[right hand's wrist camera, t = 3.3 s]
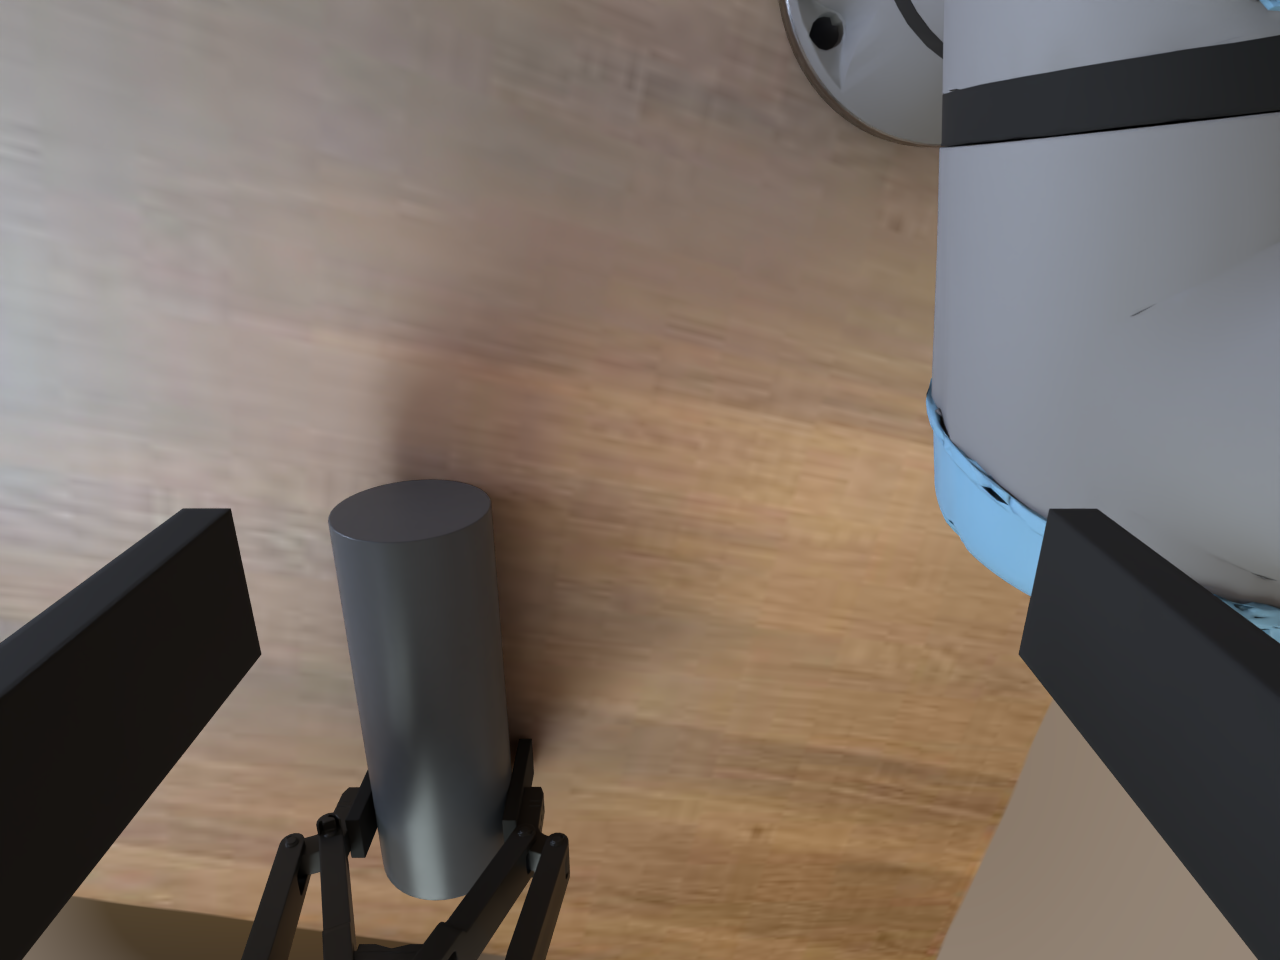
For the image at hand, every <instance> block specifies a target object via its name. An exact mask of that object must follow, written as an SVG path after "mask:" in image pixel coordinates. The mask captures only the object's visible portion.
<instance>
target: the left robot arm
mask: <svg viewBox="0 0 1280 960" xmlns="http://www.w3.org/2000/svg"><path fill="white" fill-rule="evenodd" d="M533 775H534V769H533V753H532V739H519V744H518V748H517V753H516V758H515V762H514V767H513V772H512V776H511V781H510V786H509V790H508V795H507V800H506V804H505V809H504V814H503V818H502V825H503V837H504V844H503V845H502V847H501V848H500V850H499V851H498V852H497V854H496V855H495V856H494V858H493V859H492V861H491V862H490V863H489V865H488V866H487V867H486V869H485V870H484V871H483V873H482V874H481V876H480V877H479V878H478V880H477V881H476V882H475V884H474V885H473V886H472V888H471V889H470V891H469V892H468V893H467V895H466V896H465V897H464V899H463V900H462V901H461V903H460V904H459V906H458V907H457V908H456V910H455V911H454V912H453V914H452V915H451V916H450V918H449V919H448V920H447V922H445V923H444V922H440V923H439V924H438V925H437V926H436V928H435V929H434V930H433V932H432V933H431V934H430V936H429V937H428V938H427V940H426V941H425V942H424V944H409V945H405V946H401V947H396V948H387V947H384V946H380V945H377V944H359V946H358V949H357V947H356V937H355V926H354V915H353V905H352V894H351V883H350V873H349V862H348V855H349V852H350V851H351V856H352V858H365V857H366V855H367V852H368V850H369V847H370V845H371V842H372V840H373V837H374V835H375V832H376V830H377V821H376V815H375V808H374V802H373V796H372V790H371V784H370V777H369V771H367V773H366V775H365V777H364V779H363V782H362V784H361V786H360V787H349V788H348V789H347V790H346V791H345V792H344V793H343V794H342V796H341V798H340V800H339V802H338V804H337V807H336V808H335V811H334V813H328V814H325V815H323V816H322V817H320V818H319V819H318V821H317V824H316V826H317V831H318V834H317V835H314V836H311V837H307V838H304V837H303V835H302V834H299V833H294V834H290V835H288V836H286V837H285V838H284V839H283V840H282V841H281V843H280V845H279V848H278V851H277V854H276V857H275V860H274V863H273V866H272V869H271V872H270V875H269V878H268V881H267V884H266V887H265V890H264V893H263V896H262V899H261V902H260V905H259V908H258V911H257V914H256V917H255V920H254V923H253V926H252V929H251V932H250V935H249V938H248V941H247V944H246V947H245V950H244V953H243V956H242V959H241V960H288V957H289V953H290V949H291V946H292V942H293V938H294V935H295V931H296V927H297V924H298V920H299V916H300V913H301V909H302V905H303V902H304V898H305V895H306V891H307V887H308V884H309V880H310V876H311V874H314V873H318V872H320V875H321V894H322V913H323V931H322V937H323V956H324V960H477V959H478V957H479V956H480V954H481V953H482V951H483V950H484V948H485V947H486V945H487V944H488V942H489V941H490V939H491V938H492V936H493V935H494V933H495V932H496V930H497V929H498V927H499V925H500V924H501V922H502V921H503V919H504V918H505V916H506V915H507V913H508V912H509V910H510V909H511V907H512V906H513V904H514V903H515V901H516V900H517V898H518V897H519V895H520V894H521V892H522V891H523V889H524V888H525V886H526V885H527V883H528V882H529V880H530V878H531V877H532V878H533V879H532V882H531V885H530V888H529V890H528V893H527V896H526V899H525V902H524V905H523V908H522V911H521V914H520V916H519V919H518V922H517V925H516V928H515V931H514V934H513V937H512V940H511V942H510V945H509V948H508V951H507V955H506V958H505V960H545V959H546V955H547V952H548V949H549V945H550V942H551V939H552V935H553V932H554V928H555V925H556V922H557V918H558V915H559V911H560V908H561V905H562V901H563V898H564V894H565V891H566V888H567V884H568V881H569V877H570V865H569V844H568V838H567V836H566V835H565V834H562V833H554V834H551V835H550V836H546V835H544V834H543V833H542V826H543V819H544V813H545V810H544V793H543V791H542V788H541V787H531V786H532V781H533Z"/></svg>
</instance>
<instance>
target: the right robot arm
mask: <svg viewBox="0 0 1280 960" xmlns="http://www.w3.org/2000/svg"><path fill="white" fill-rule="evenodd" d="M779 5H780V11H781V16H782V20H783V24H784V27H785V31H786V34H787V38H788V40H789V43H790V45H791V48H792V50H793V53H794V55H795V57H796V59H797V61H798V63H799V65H800V67H801V69H802V71H803V72H804V74H805V75H806V77H807V79H808V80H809V82H810V83H811V85H812V86H813V87H814V89H815V90H816V91H817V92H818V94H819V95H820V96H821V97H822V98H823V99H824V100H825V101H826V103H827V104H828V105H829V106H830V107H831V108H832V109H833V110H835V111H836V112H837V113H838V114H839V115H841V116H842V117H843V118H844V119H846V120H847V121H849V122H850V123H852V124H853V125H855V126H856V127H858V128H859V129H861V130H863V131H865V132H867V133H869V134H871V135H873V136H876V137H879V138H881V139H884V140H887V141H890V142H894V143H898V144H903V145H909V146H917V147H940V151H939V193H938V235H937V265H936V291H935V316H934V341H933V366H932V378H931V382H930V386H929V389H928V392H927V398H926V407H927V414H928V417H929V421H930V425H931V427H932V429H933V434H934V473H935V490H936V496H937V500H938V503H939V507H940V509H941V512H942V514H943V516H944V518H945V520H946V522H947V523H948V525H949V526H950V527H951V528H952V529H953V530H954V531H955V532H956V533H957V534H958V535H959V536H960V538H961V541H962V542H963V543H964V544H965V546H966V548H967V550H968V551H969V552H970V553H971V554H972V555H973V556H974V557H975V558H976V559H977V560H978V561H980V562H981V563H982V564H983V565H984V566H986V567H987V568H988V569H989V570H991V571H992V572H993V573H995V574H996V575H997V576H999V577H1000V578H1002V579H1003V580H1005V581H1006V582H1008V583H1009V584H1011V585H1012V586H1014V587H1015V588H1017V589H1019V590H1020V591H1022V592H1024V593H1026V594H1028V595H1029V596H1031V598H1030V603H1029V607H1028V612H1027V617H1026V622H1025V626H1024V631H1023V636H1022V641H1021V645H1020V650H1019V655H1020V657H1021V658H1022V659H1023V661H1024V662H1025V663H1026V664H1027V666H1028V667H1029V668H1030V669H1031V671H1032V672H1033V673H1034V675H1035V676H1036V677H1037V678H1038V680H1039V681H1040V682H1041V683H1042V685H1043V686H1044V687H1045V689H1046V690H1047V691H1048V692H1049V694H1050V695H1051V696H1052V698H1053V699H1054V700H1055V701H1056V703H1057V704H1058V705H1059V706H1060V708H1061V709H1062V710H1063V712H1064V713H1065V714H1066V715H1067V717H1068V718H1069V719H1070V720H1071V722H1072V723H1073V724H1074V726H1075V727H1076V728H1077V729H1078V731H1079V732H1080V733H1081V734H1082V736H1083V737H1084V738H1085V740H1086V741H1087V742H1088V743H1089V745H1090V746H1091V747H1092V749H1093V750H1094V751H1095V752H1096V754H1097V755H1098V756H1099V757H1100V759H1101V760H1102V761H1103V763H1104V764H1105V765H1106V766H1107V768H1108V769H1109V770H1110V771H1111V773H1112V774H1113V775H1114V777H1115V778H1116V779H1117V780H1118V782H1119V783H1120V784H1121V785H1122V787H1123V788H1124V789H1125V791H1126V792H1127V793H1128V794H1129V796H1130V797H1131V798H1132V799H1133V801H1134V802H1135V803H1136V805H1137V806H1138V807H1139V808H1140V810H1141V811H1142V812H1143V813H1144V815H1145V816H1146V817H1147V819H1148V820H1149V821H1150V822H1151V824H1152V825H1153V826H1154V828H1155V829H1156V830H1157V831H1158V833H1159V834H1160V835H1161V836H1162V838H1163V839H1164V840H1165V841H1166V843H1167V844H1168V845H1169V847H1170V848H1171V849H1172V850H1173V852H1174V853H1175V854H1176V856H1177V857H1178V858H1179V859H1180V861H1181V862H1182V863H1183V865H1184V866H1185V867H1186V868H1187V870H1188V871H1189V872H1190V873H1191V875H1192V876H1193V877H1194V879H1195V880H1196V881H1197V882H1198V884H1199V885H1200V886H1201V887H1202V889H1203V890H1204V891H1205V893H1206V894H1207V895H1208V896H1209V898H1210V899H1211V900H1212V901H1213V903H1214V904H1215V905H1216V907H1217V908H1218V909H1219V910H1220V912H1221V913H1222V914H1223V916H1224V917H1225V918H1226V919H1227V920H1228V922H1229V923H1230V924H1231V926H1232V927H1233V928H1234V929H1235V931H1236V932H1237V933H1238V935H1239V936H1240V937H1241V938H1242V940H1243V941H1244V942H1245V944H1246V945H1247V946H1248V947H1249V949H1250V950H1251V951H1252V953H1253V954H1254V955H1255V956H1256V958H1257V959H1258V960H1280V0H779ZM260 655H261V650H260V645H259V641H258V636H257V631H256V626H255V622H254V617H253V612H252V607H251V603H250V598H249V593H248V588H247V584H246V579H245V574H244V569H243V565H242V560H241V555H240V550H239V546H238V541H237V536H236V531H235V527H234V522H233V517H232V512H231V509H182V510H180V511H179V512H178V513H176V514H175V515H173V516H172V517H171V518H169V519H168V520H167V521H165V522H164V523H163V524H161V525H160V526H159V527H157V528H156V529H154V530H153V531H152V532H150V533H149V534H148V535H146V536H145V537H144V538H142V539H141V540H140V541H138V542H137V543H135V544H134V545H133V546H131V547H130V548H129V549H127V550H126V551H125V552H123V553H122V554H121V555H119V556H118V557H117V558H115V559H114V560H112V561H111V562H110V563H108V564H107V565H106V566H104V567H103V568H102V569H100V570H99V571H98V572H96V573H95V574H93V575H92V576H91V577H89V578H88V579H87V580H85V581H84V582H83V583H81V584H80V585H79V586H77V587H76V588H74V589H73V590H72V591H70V592H69V593H68V594H66V595H65V596H64V597H62V598H61V599H60V600H58V601H57V602H55V603H54V604H53V605H51V606H50V607H49V608H47V609H46V610H45V611H43V612H42V613H41V614H39V615H38V616H36V617H35V618H34V619H32V620H31V621H30V622H28V623H27V624H26V625H24V626H23V627H22V628H20V629H19V630H17V631H16V632H15V633H13V634H12V635H11V636H9V637H8V638H7V639H5V640H4V641H3V642H1V643H0V960H22V959H23V958H24V956H25V955H26V954H27V952H28V951H29V950H30V949H31V947H32V946H33V945H34V943H35V942H36V941H37V940H38V938H39V937H40V936H41V935H42V933H43V932H44V931H45V930H46V928H47V927H48V926H49V924H50V923H51V922H52V921H53V919H54V918H55V917H56V916H57V914H58V913H59V912H60V910H61V909H62V908H63V907H64V905H65V904H66V903H67V902H68V900H69V899H70V898H71V896H72V895H73V894H74V893H75V891H76V890H77V889H78V887H79V886H80V885H81V884H82V882H83V881H84V880H85V879H86V877H87V876H88V875H89V873H90V872H91V871H92V870H93V868H94V867H95V866H96V865H97V863H98V862H99V861H100V859H101V858H102V857H103V856H104V854H105V853H106V852H107V851H108V849H109V848H110V847H111V845H112V844H113V843H114V842H115V840H116V839H117V838H118V836H119V835H120V834H121V833H122V831H123V830H124V829H125V828H126V826H127V825H128V824H129V822H130V821H131V820H132V819H133V817H134V816H135V815H136V814H137V812H138V811H139V810H140V808H141V807H142V806H143V805H144V803H145V802H146V801H147V800H148V798H149V797H150V796H151V794H152V793H153V792H154V791H155V789H156V788H157V787H158V785H159V784H160V783H161V782H162V780H163V779H164V778H165V777H166V775H167V774H168V773H169V771H170V770H171V769H172V768H173V766H174V765H175V764H176V763H177V761H178V760H179V759H180V757H181V756H182V755H183V754H184V752H185V751H186V750H187V749H188V747H189V746H190V745H191V743H192V742H193V741H194V740H195V738H196V737H197V736H198V734H199V733H200V732H201V731H202V729H203V728H204V727H205V726H206V724H207V723H208V722H209V720H210V719H211V718H212V717H213V715H214V714H215V713H216V712H217V710H218V709H219V708H220V706H221V705H222V704H223V703H224V701H225V700H226V699H227V698H228V696H229V695H230V694H231V692H232V691H233V690H234V689H235V687H236V686H237V685H238V683H239V682H240V681H241V680H242V678H243V677H244V676H245V675H246V673H247V672H248V671H249V669H250V668H251V667H252V666H253V664H254V663H255V662H256V661H257V659H258V658H259V657H260Z"/></svg>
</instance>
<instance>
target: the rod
mask: <svg viewBox="0 0 1280 960" xmlns="http://www.w3.org/2000/svg"><path fill="white" fill-rule="evenodd" d="M328 523H329V529H330V536H331V542H332V548H333V554H334V560H335V567H336V573H337V579H338V585H339V591H340V598H341V604H342V610H343V616H344V622H345V629H346V635H347V641H348V647H349V653H350V660H351V666H352V672H353V678H354V684H355V691H356V697H357V703H358V709H359V715H360V722H361V728H362V734H363V740H364V746H365V753H366V759H367V765H368V771H369V777H370V784H371V790H372V796H373V802H374V808H375V815H376V821H377V827H378V833H379V839H380V846H381V852H382V858H383V864H384V869H385V872H386V874H387V876H388V878H389V879H390V881H391V882H392V883H393V884H394V885H395V886H396V887H397V888H398V889H399V890H401V891H402V892H404V893H406V894H408V895H410V896H413V897H416V898H419V899H425V900H446V899H452V898H457V897H460V896H464V895H466V894H467V893H468V892H469V891H470V889H471V888H472V886H473V885H474V884H475V882H476V881H477V880H478V878H479V877H480V876H481V874H482V873H483V871H484V870H485V869H486V867H487V866H488V865H489V863H490V862H491V861H492V859H493V858H494V856H495V855H496V854H497V852H498V851H499V850H500V848H501V847H502V845H503V844H504V837H503V825H502V818H503V814H504V809H505V804H506V800H507V795H508V790H509V786H510V781H511V776H512V770H511V757H510V744H509V730H508V717H507V704H506V691H505V678H504V665H503V652H502V638H501V625H500V612H499V599H498V586H497V573H496V560H495V546H494V533H493V520H492V507H491V500H490V498H489V496H488V495H487V494H486V493H485V492H484V491H483V490H481V489H479V488H477V487H475V486H472V485H469V484H466V483H461V482H456V481H449V480H412V481H403V482H397V483H391V484H386V485H382V486H378V487H374V488H371V489H368V490H365V491H362V492H359V493H357V494H355V495H353V496H350V497H349V498H347V499H345V500H343V501H342V502H340V503H339V504H338V505H337V506H336V507H335V508H334V509H333V510H332V511H331V513H330V515H329V519H328Z"/></svg>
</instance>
